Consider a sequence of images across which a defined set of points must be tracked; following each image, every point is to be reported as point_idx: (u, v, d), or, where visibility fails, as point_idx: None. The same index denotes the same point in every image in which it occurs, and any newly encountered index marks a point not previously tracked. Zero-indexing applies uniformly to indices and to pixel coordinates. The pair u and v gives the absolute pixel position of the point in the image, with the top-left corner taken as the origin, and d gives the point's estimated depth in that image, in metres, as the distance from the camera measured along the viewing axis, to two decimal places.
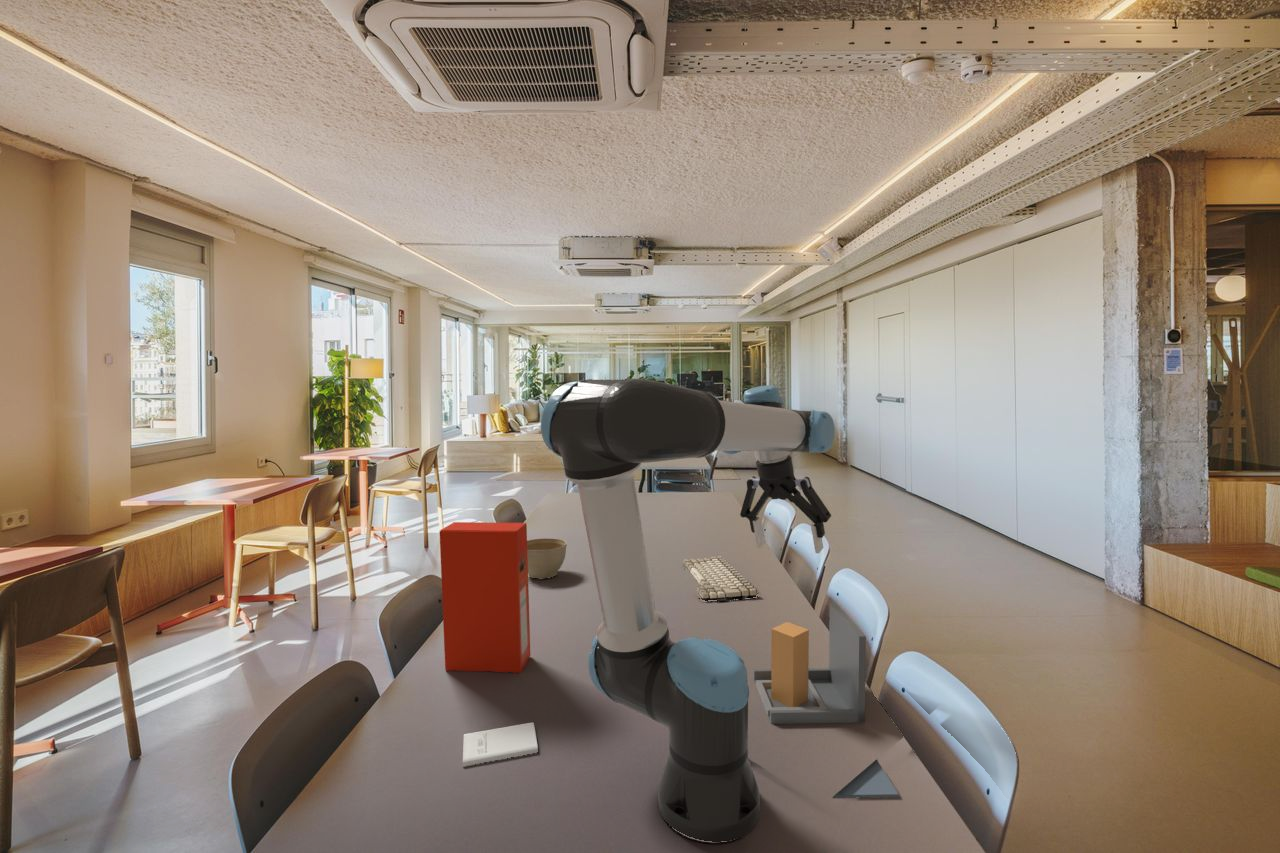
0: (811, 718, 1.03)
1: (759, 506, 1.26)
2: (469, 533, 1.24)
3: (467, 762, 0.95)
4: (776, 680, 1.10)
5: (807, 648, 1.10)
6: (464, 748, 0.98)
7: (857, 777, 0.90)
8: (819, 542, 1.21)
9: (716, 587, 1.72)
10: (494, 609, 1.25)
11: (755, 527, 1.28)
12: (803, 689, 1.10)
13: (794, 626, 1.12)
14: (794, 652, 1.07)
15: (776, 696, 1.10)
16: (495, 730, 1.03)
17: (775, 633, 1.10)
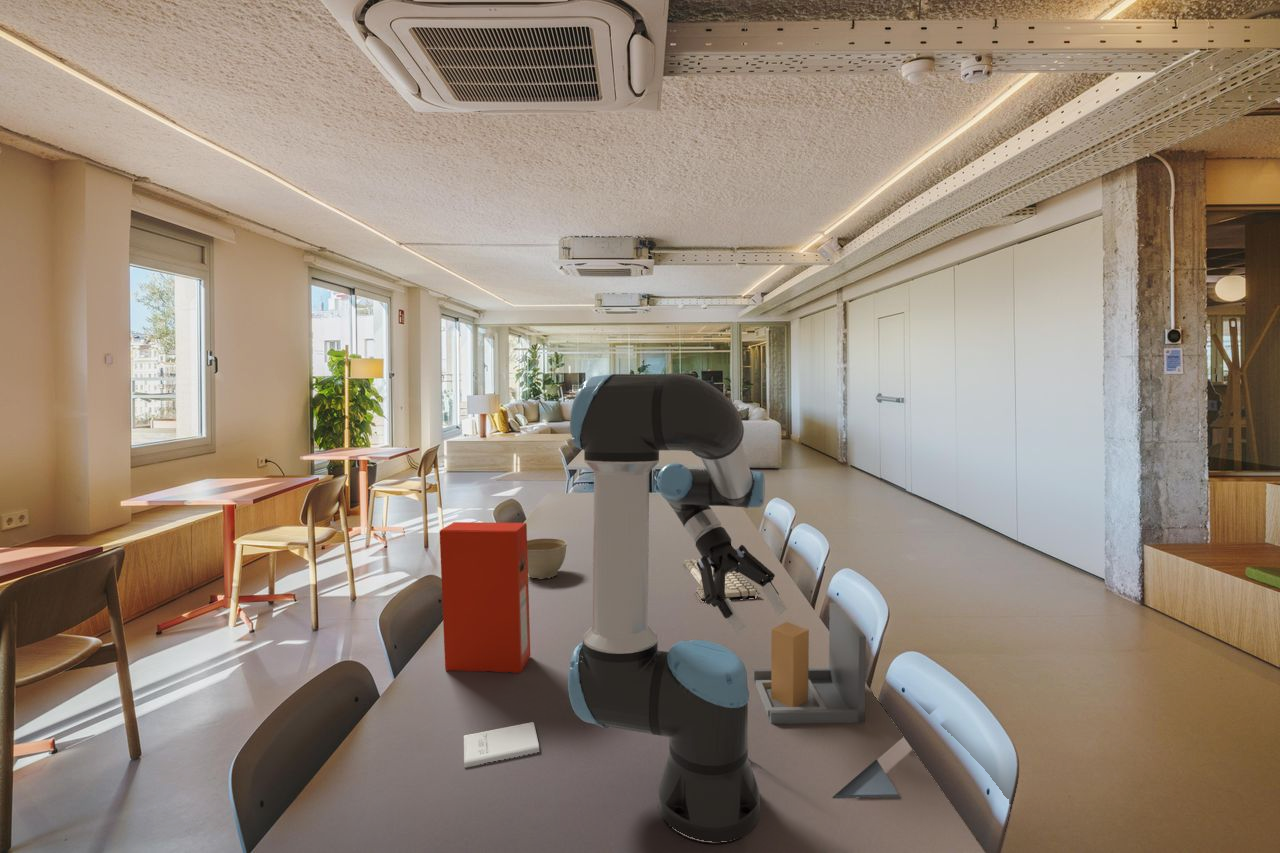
0: (811, 718, 1.03)
1: (723, 580, 1.18)
2: (469, 533, 1.24)
3: (468, 763, 0.95)
4: (776, 680, 1.10)
5: (807, 648, 1.10)
6: (465, 749, 0.98)
7: (857, 777, 0.90)
8: None
9: None
10: (494, 609, 1.25)
11: (731, 604, 1.14)
12: (803, 689, 1.10)
13: (794, 626, 1.12)
14: (794, 652, 1.07)
15: (776, 696, 1.10)
16: (495, 731, 1.03)
17: (775, 633, 1.10)
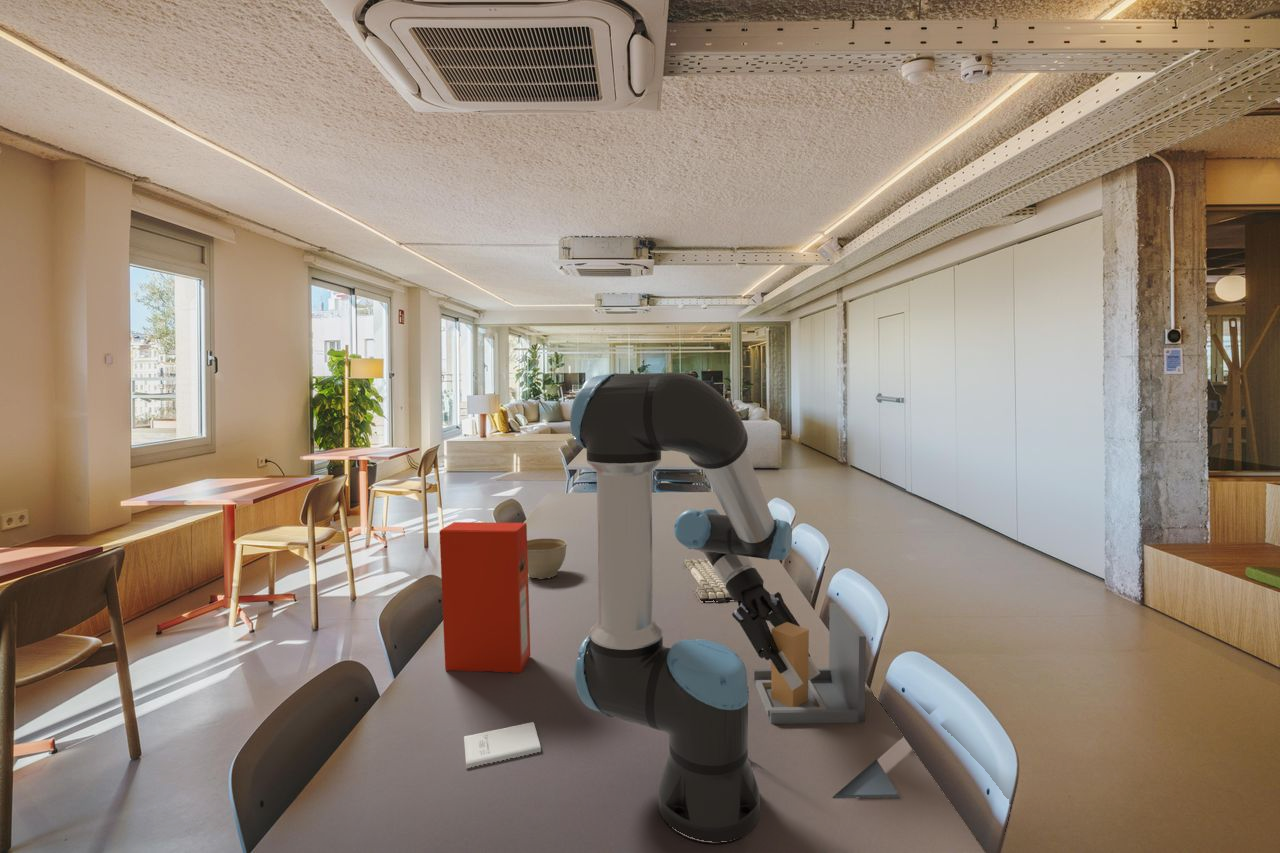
0: (811, 718, 1.03)
1: (768, 629, 1.11)
2: (469, 533, 1.24)
3: (470, 764, 0.94)
4: (776, 680, 1.10)
5: (807, 648, 1.10)
6: (466, 750, 0.98)
7: (857, 777, 0.90)
8: None
9: (715, 587, 1.71)
10: (494, 609, 1.25)
11: (786, 658, 1.08)
12: (803, 689, 1.10)
13: (794, 626, 1.12)
14: (794, 652, 1.07)
15: (776, 696, 1.10)
16: (495, 731, 1.03)
17: (775, 633, 1.10)
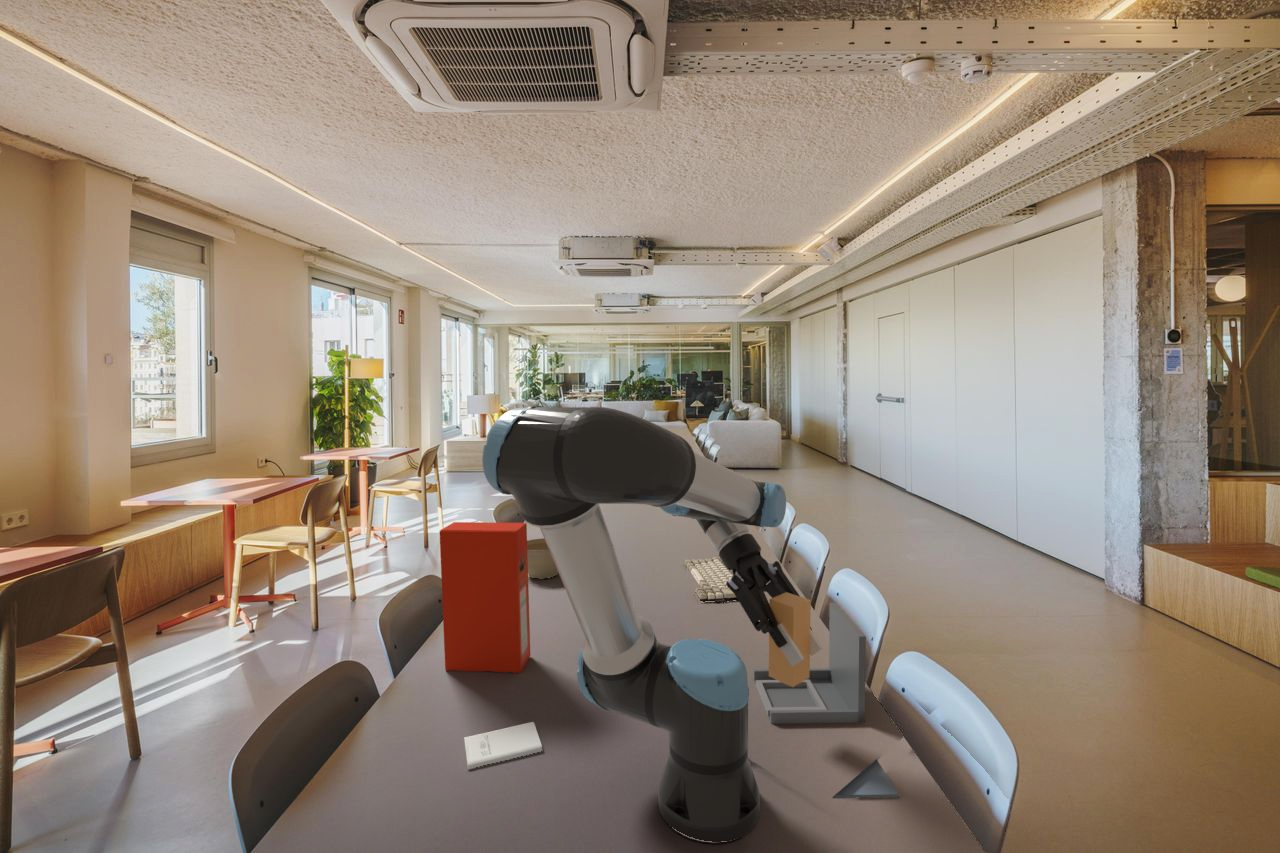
0: (811, 718, 1.03)
1: (765, 599, 1.01)
2: (469, 533, 1.24)
3: (472, 765, 0.94)
4: (774, 656, 1.00)
5: (809, 620, 0.99)
6: (467, 751, 0.97)
7: (857, 777, 0.90)
8: None
9: (715, 588, 1.71)
10: (494, 609, 1.25)
11: (785, 631, 0.97)
12: (804, 665, 0.99)
13: (794, 596, 1.01)
14: (794, 624, 0.96)
15: (774, 673, 1.00)
16: (496, 731, 1.03)
17: (773, 603, 0.99)
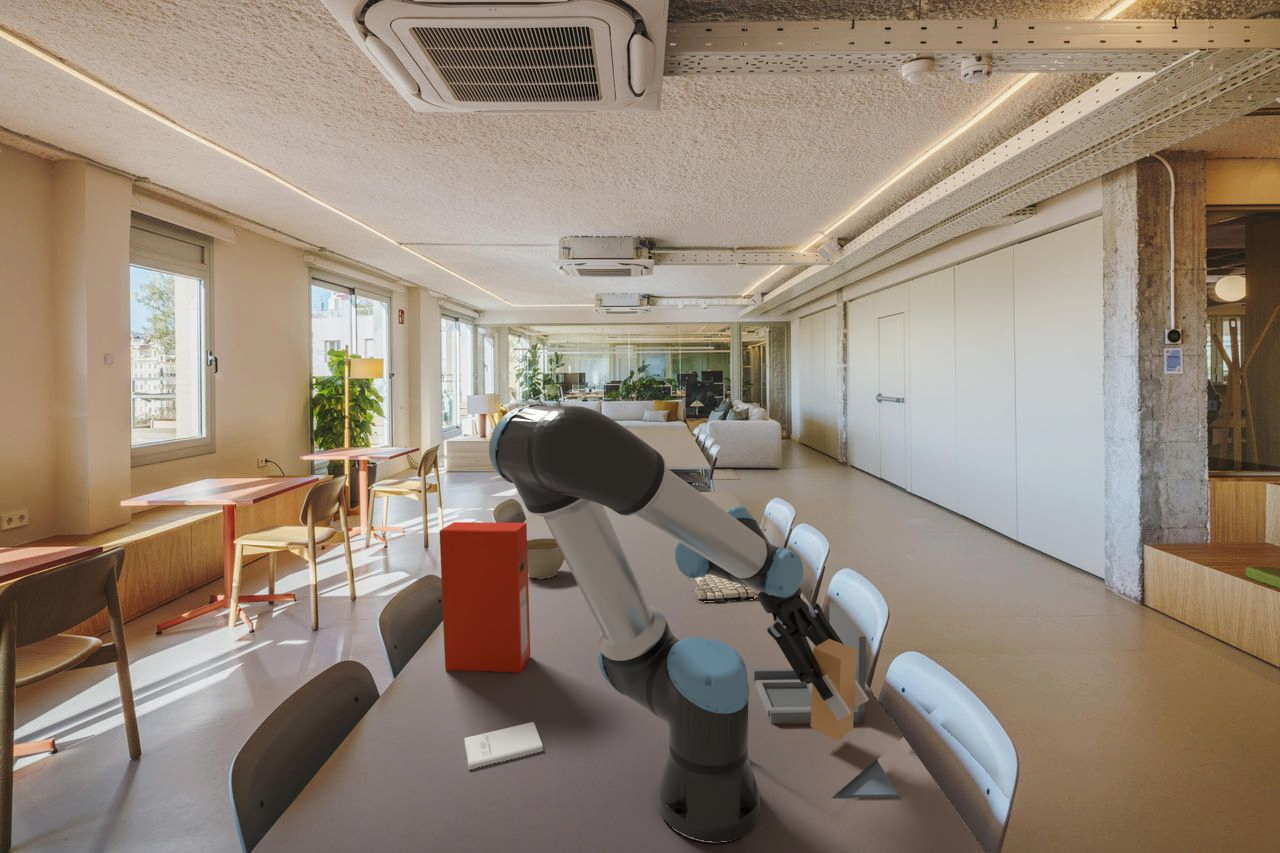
0: None
1: (809, 647, 0.96)
2: (469, 533, 1.24)
3: (473, 765, 0.94)
4: (817, 706, 0.96)
5: (854, 670, 0.95)
6: (467, 751, 0.97)
7: (857, 777, 0.90)
8: None
9: (714, 588, 1.71)
10: (494, 609, 1.25)
11: (831, 683, 0.93)
12: (848, 717, 0.95)
13: (839, 644, 0.97)
14: (840, 676, 0.92)
15: (817, 725, 0.96)
16: (496, 732, 1.03)
17: (817, 653, 0.95)
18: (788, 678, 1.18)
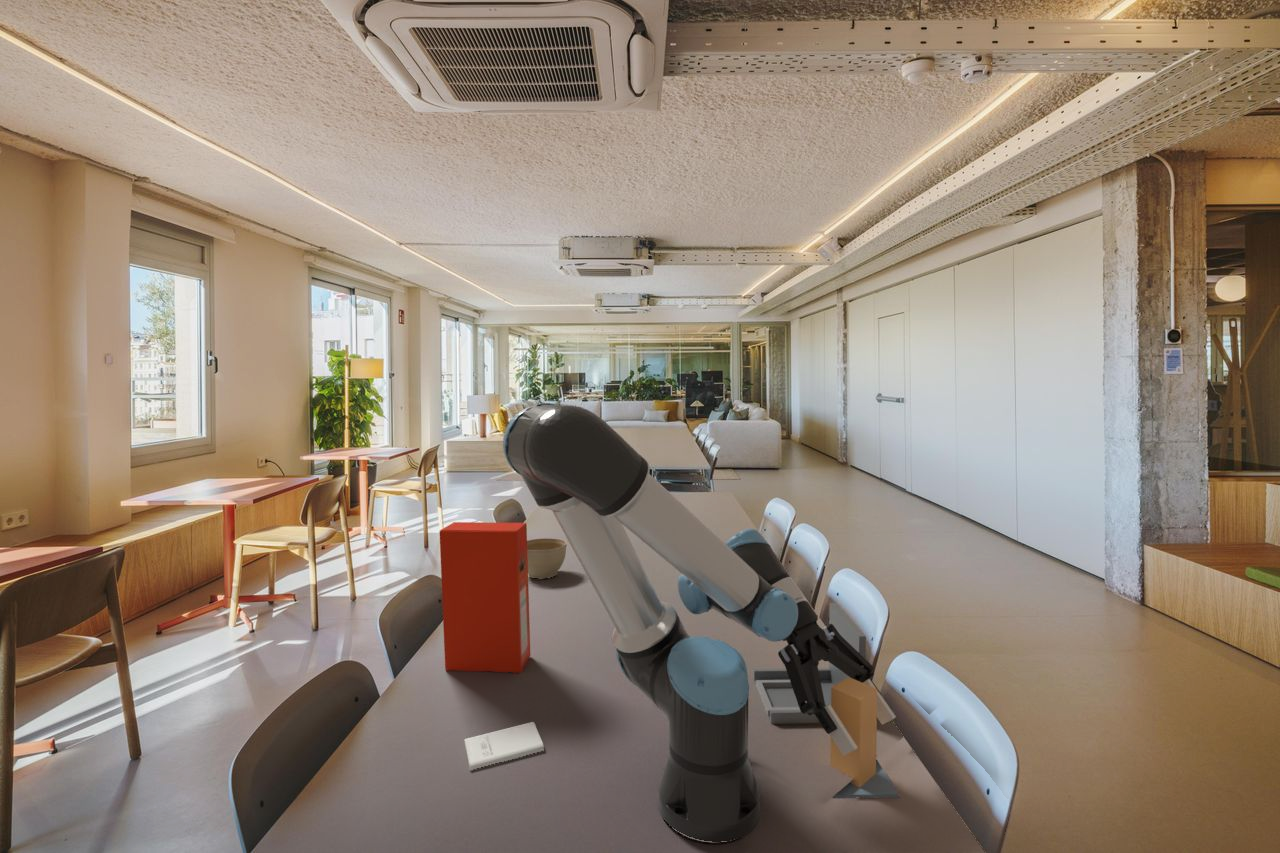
0: (811, 718, 1.03)
1: (818, 677, 0.90)
2: (469, 533, 1.24)
3: (474, 766, 0.94)
4: (837, 750, 0.90)
5: (875, 711, 0.90)
6: (468, 752, 0.97)
7: None
8: None
9: None
10: (494, 609, 1.25)
11: (835, 714, 0.87)
12: (870, 762, 0.90)
13: (858, 683, 0.92)
14: (861, 718, 0.87)
15: (837, 769, 0.91)
16: (496, 732, 1.03)
17: (836, 692, 0.90)
18: (788, 678, 1.18)
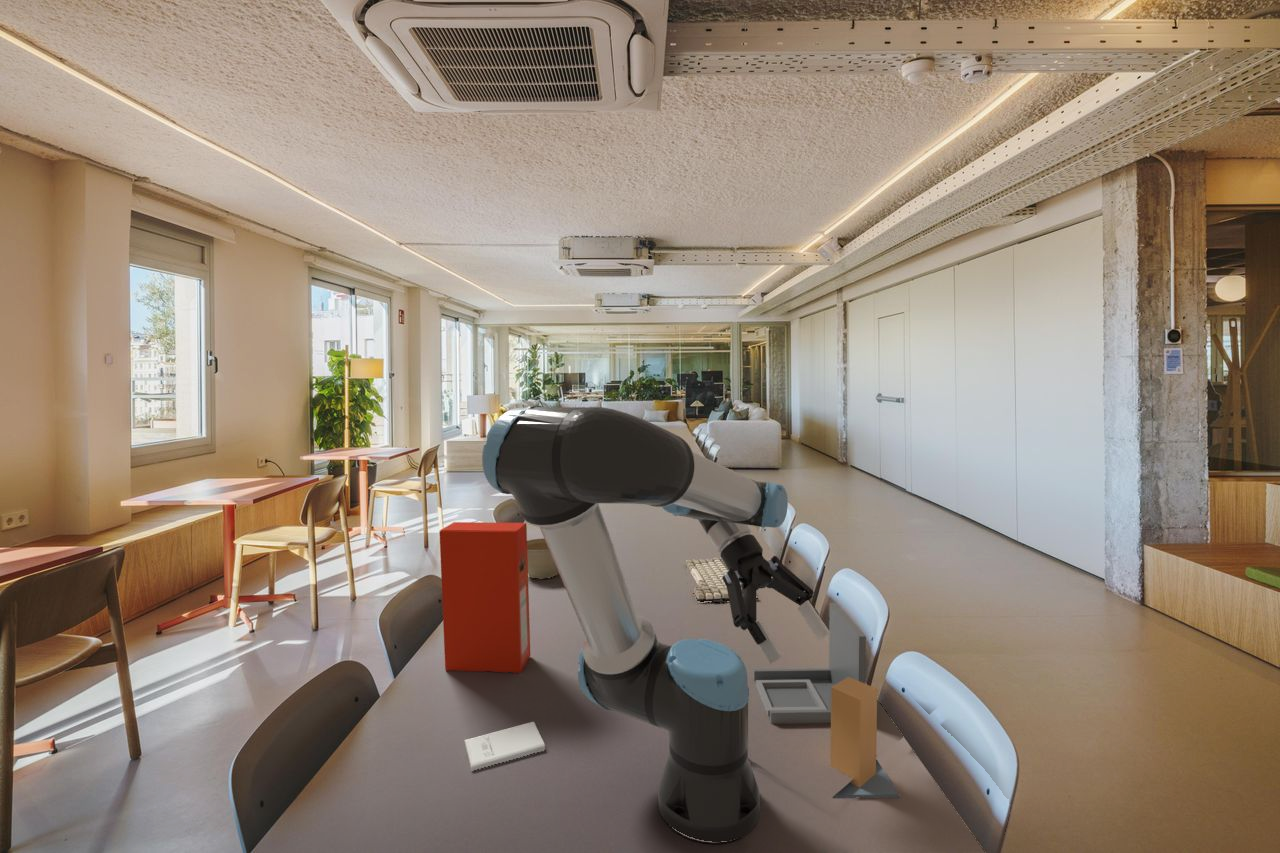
0: (811, 718, 1.03)
1: (754, 598, 0.99)
2: (469, 533, 1.24)
3: (476, 766, 0.94)
4: (837, 750, 0.90)
5: (875, 711, 0.90)
6: (469, 753, 0.97)
7: None
8: None
9: (713, 588, 1.71)
10: (494, 609, 1.25)
11: (764, 627, 0.95)
12: (870, 762, 0.90)
13: (858, 683, 0.92)
14: (861, 718, 0.87)
15: (837, 769, 0.91)
16: (496, 733, 1.02)
17: (836, 692, 0.90)
18: (788, 678, 1.18)
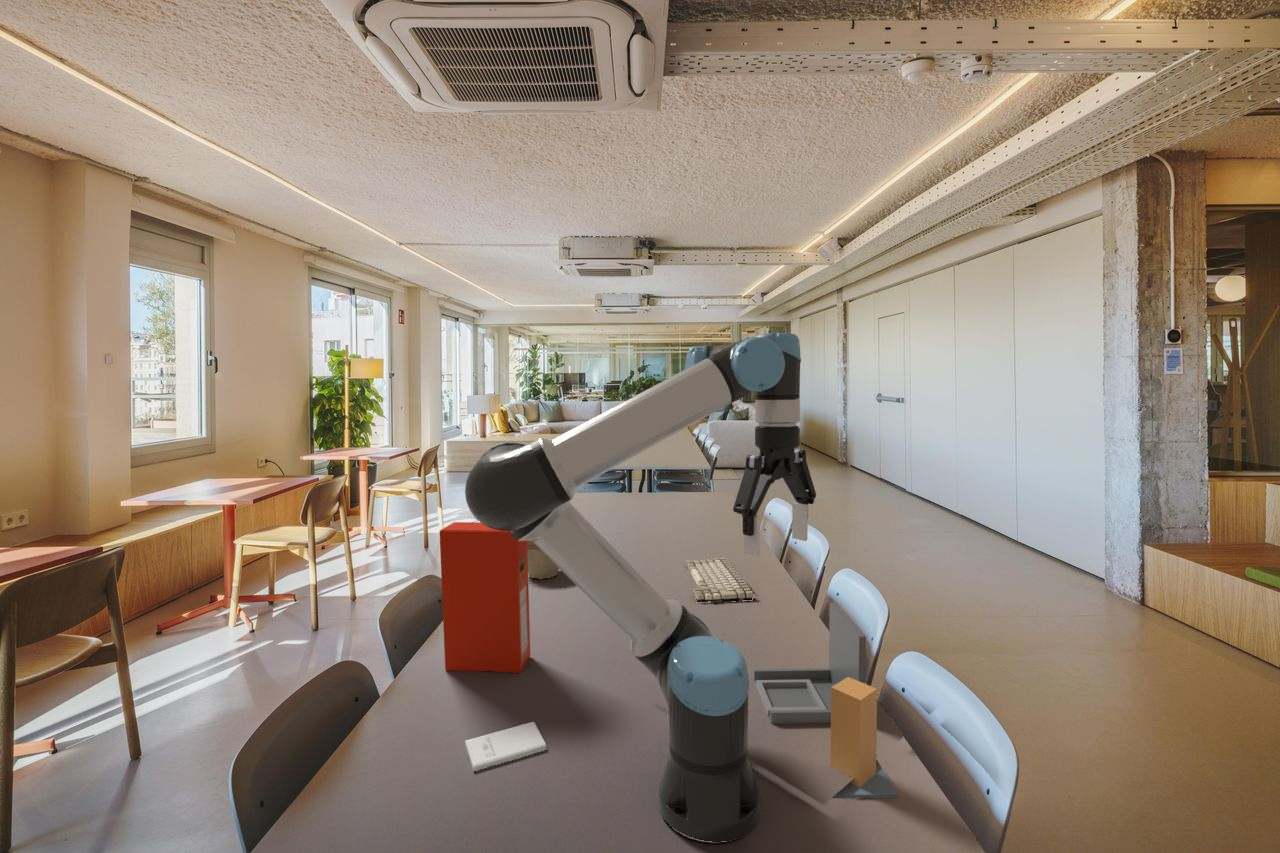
0: (811, 718, 1.03)
1: (765, 492, 0.94)
2: (469, 533, 1.24)
3: (477, 767, 0.94)
4: (837, 750, 0.90)
5: (875, 711, 0.90)
6: (470, 754, 0.97)
7: None
8: None
9: (713, 589, 1.71)
10: (494, 609, 1.25)
11: (758, 525, 0.93)
12: (870, 762, 0.90)
13: (858, 683, 0.92)
14: (861, 718, 0.87)
15: (837, 769, 0.91)
16: (497, 733, 1.02)
17: (836, 692, 0.90)
18: (788, 678, 1.18)
